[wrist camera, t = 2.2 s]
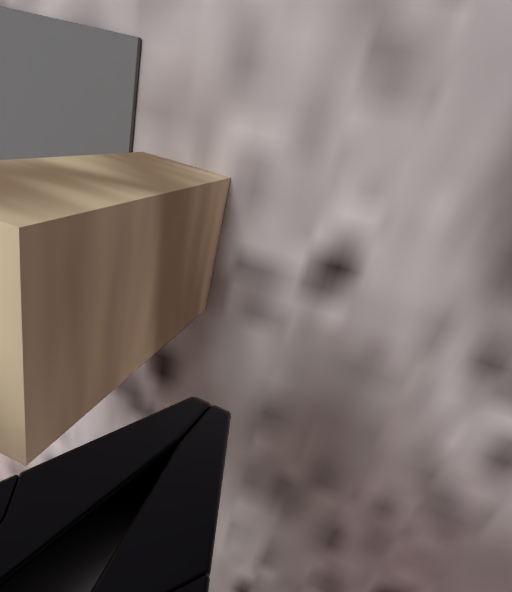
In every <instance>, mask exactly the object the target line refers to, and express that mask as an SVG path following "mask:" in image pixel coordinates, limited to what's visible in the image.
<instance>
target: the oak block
mask: <svg viewBox="0 0 512 592" xmlns="http://www.w3.org/2000/svg"><path fill="white" fill-rule="evenodd" d="M230 179H231V178H230V177H227V176H223V175H220V174H216V173H213V172H210V171H206V170H203V169H199V168H196V167H192V166H189V165H186V164H182V163H179V162H175V161H172V160H169V159H165V158H162V157H158V156H155V155H152V154H148V153H145V152H134V153H116V154H99V155H82V156H64V157H47V158H30V159H12V160H0V453H2V454H4V455H6V456H8V457H10V458H12V459H14V460H16V461H17V462H19V463H21V464H23V465H25V466H27V465H28V464H29V463H30V462H31V461H33V460H34V459H35V458H36V457H37V456H38V455H39V454H41V453H42V452H43V451H44V450H45V449H46V448H47V447H49V446H50V445H51V444H52V443H53V442H54V441H55V440H57V439H58V438H59V437H60V436H61V435H62V434H64V433H65V432H66V431H67V430H68V429H69V428H70V427H72V426H73V425H74V424H75V423H76V422H77V421H78V420H80V419H81V418H82V417H83V416H84V415H85V414H86V413H88V412H89V411H90V410H91V409H92V408H93V407H94V406H96V405H97V404H98V403H99V402H100V401H101V400H103V399H104V398H105V397H106V396H107V395H108V394H109V393H111V392H112V391H113V390H114V389H115V388H116V387H117V386H119V385H120V384H121V383H122V382H123V381H124V380H125V379H127V378H128V377H129V376H130V375H131V374H132V373H133V372H135V371H136V370H137V369H138V368H139V367H140V366H141V365H143V364H144V363H145V362H146V361H147V360H148V359H150V358H151V357H152V356H153V355H154V354H155V353H156V352H158V351H159V350H160V349H161V348H162V347H163V346H164V345H166V344H167V343H168V342H169V341H170V340H171V339H172V338H174V337H175V336H176V335H177V334H178V333H179V332H180V331H182V330H183V329H184V328H185V327H186V326H187V325H189V324H190V323H191V322H192V321H193V320H194V319H195V318H197V317H198V316H199V315H200V314H201V313H202V312H203V311H205V310H206V305H207V300H208V295H209V289H210V284H211V279H212V273H213V268H214V263H215V258H216V252H217V247H218V242H219V237H220V231H221V226H222V221H223V216H224V210H225V205H226V200H227V195H228V189H229V184H230Z"/></svg>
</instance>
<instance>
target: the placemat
mask: <svg viewBox="0 0 512 592" xmlns="http://www.w3.org/2000/svg"><path fill="white" fill-rule="evenodd" d="M140 48H141V38H138V37H134V36H130V35H125V34H121V33H116V32H112V31H108V30H103V29H99V28H94V27H90V26H86V25H81V24H77V23H72V22H68V21H63V20H59V19H55V18H50V17H46V16H41V15H37V14H33V13H28V12H24V11H19V10H15V9H10V8H6V7H2V6H0V160H12V159H30V158H47V157H64V156H82V155H99V154H116V153H132V142H133V130H134V119H135V107H136V95H137V83H138V71H139V59H140Z"/></svg>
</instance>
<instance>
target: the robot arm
mask: <svg viewBox="0 0 512 592" xmlns="http://www.w3.org/2000/svg"><path fill="white" fill-rule="evenodd" d="M230 418H231V414H230V412H229V411H227V410H225V409H222V408H220V407H218V406H215V405H214V406H211V405H210V403H208V402H206V401H204V400H201V399H199V398H197V397H190V398H188V399H186V400H184V401H181V402H179V403H177V404H175V405H172V406H170V407H168V408H165V409H163V410H161V411H159V412H156V413H154V414H152V415H150V416H147V417H145V418H143V419H141V420H138V421H136V422H134V423H132V424H129V425H127V426H125V427H123V428H120V429H118V430H116V431H114V432H111V433H109V434H107V435H104V436H102V437H100V438H98V439H95V440H93V441H91V442H89V443H86V444H84V445H82V446H80V447H77V448H75V449H73V450H71V451H68V452H66V453H64V454H62V455H59V456H57V457H55V458H53V459H50V460H48V461H46V462H43V463H41V464H39V465H37V466H34V467H32V468H30V469H28V470H25V471H23V472H21V473H20V475H19V476H18V475H14V476H11V477H9V478H7V479H5V480H2V481H0V592H208V589H209V581H210V578H209V576H210V572H211V564H212V556H213V548H214V541H215V533H216V525H217V518H218V510H219V502H220V495H221V487H222V479H223V472H224V464H225V456H226V449H227V441H228V433H229V426H230Z"/></svg>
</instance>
